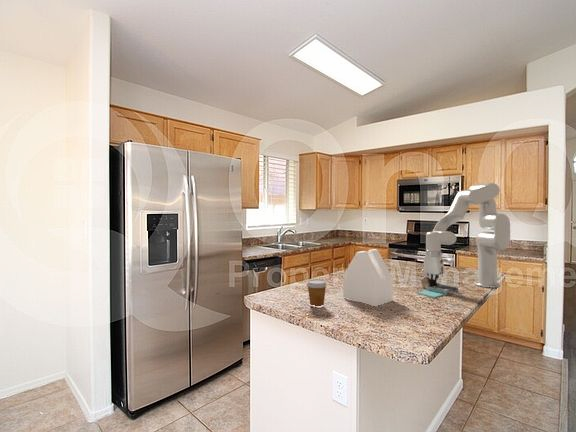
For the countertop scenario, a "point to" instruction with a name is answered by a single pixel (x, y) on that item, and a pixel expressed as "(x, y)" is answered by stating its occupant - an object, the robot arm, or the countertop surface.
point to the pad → (430, 294)
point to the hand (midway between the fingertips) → (433, 286)
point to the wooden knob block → (425, 281)
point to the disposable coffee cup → (316, 291)
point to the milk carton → (368, 279)
